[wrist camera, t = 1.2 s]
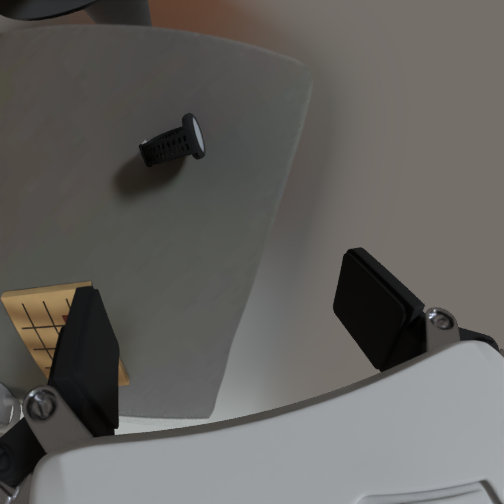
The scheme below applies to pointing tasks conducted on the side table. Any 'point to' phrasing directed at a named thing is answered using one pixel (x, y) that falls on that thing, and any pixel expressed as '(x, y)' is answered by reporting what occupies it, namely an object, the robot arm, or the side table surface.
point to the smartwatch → (186, 136)
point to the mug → (8, 410)
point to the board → (44, 320)
